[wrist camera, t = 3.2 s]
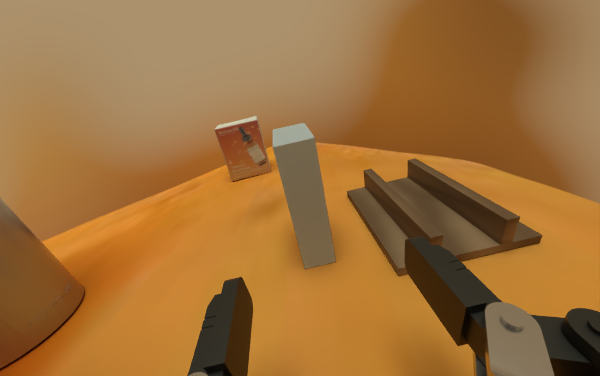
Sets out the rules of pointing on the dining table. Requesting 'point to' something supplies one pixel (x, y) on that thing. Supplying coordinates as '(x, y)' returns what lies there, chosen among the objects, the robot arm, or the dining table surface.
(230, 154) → the small box
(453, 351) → the dining table surface
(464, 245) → the rack
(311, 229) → the grey rectangular block
